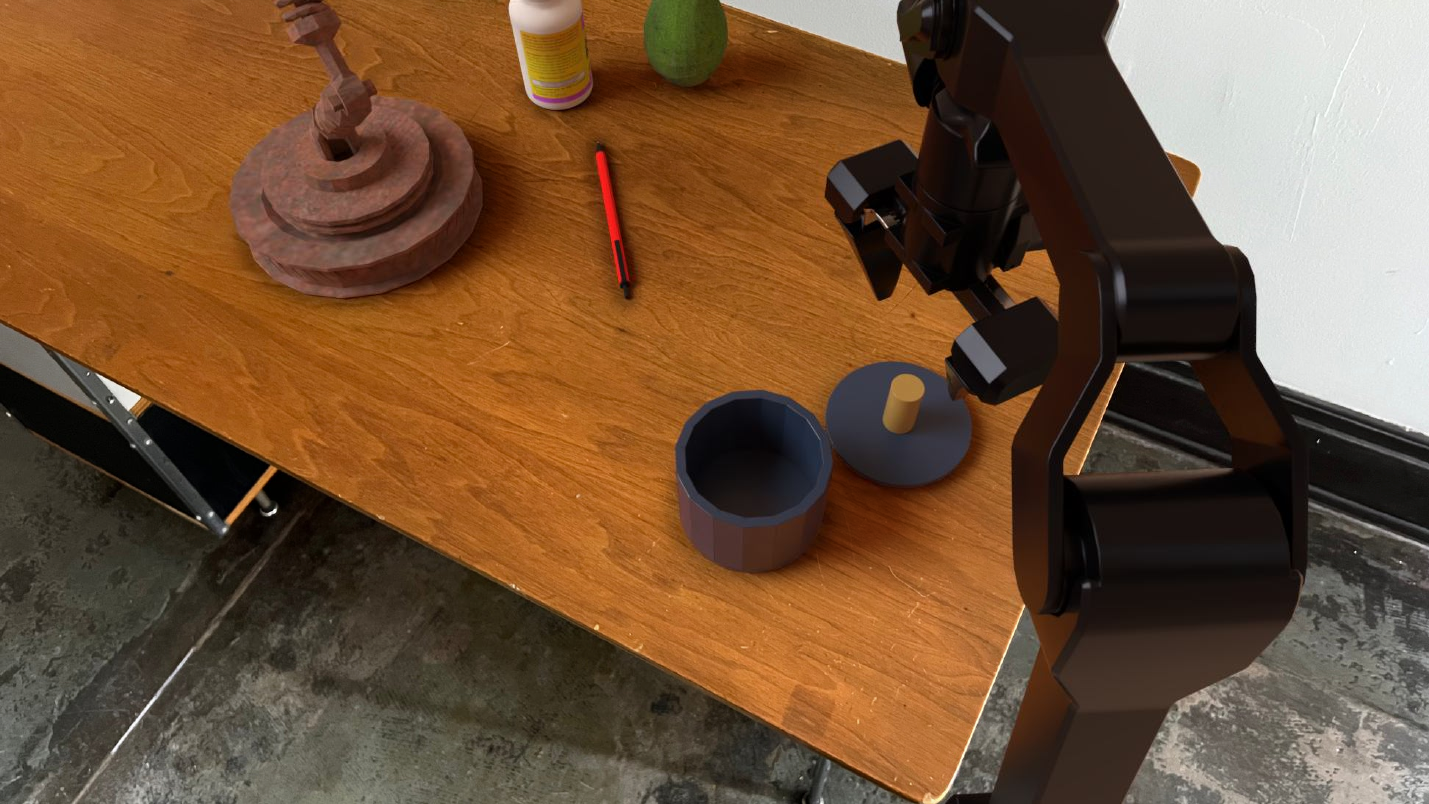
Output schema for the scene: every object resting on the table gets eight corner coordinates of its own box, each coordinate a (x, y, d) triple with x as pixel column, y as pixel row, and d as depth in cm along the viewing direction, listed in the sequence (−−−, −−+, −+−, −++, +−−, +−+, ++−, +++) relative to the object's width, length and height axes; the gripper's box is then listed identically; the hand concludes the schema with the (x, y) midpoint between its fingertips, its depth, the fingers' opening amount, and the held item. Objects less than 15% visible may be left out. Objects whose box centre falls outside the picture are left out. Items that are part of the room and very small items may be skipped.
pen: (622, 301, 81) (621, 293, 80) (593, 146, 91) (592, 137, 90) (632, 299, 81) (631, 291, 80) (603, 145, 91) (601, 136, 90)
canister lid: (997, 456, 72) (1016, 416, 68) (871, 515, 70) (882, 478, 65) (918, 349, 78) (930, 306, 73) (798, 400, 75) (803, 359, 70)
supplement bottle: (605, 98, 94) (589, -21, 84) (543, 122, 93) (519, 3, 82) (575, 60, 98) (557, -60, 87) (515, 82, 96) (488, -37, 85)
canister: (849, 535, 69) (861, 486, 63) (718, 596, 67) (718, 552, 60) (780, 424, 74) (785, 368, 68) (656, 477, 72) (650, 425, 65)
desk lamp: (387, 61, 98) (210, -443, 64) (548, 252, 84) (429, -266, 50) (184, 147, 91) (-131, -364, 58) (322, 370, 77) (10, -135, 44)
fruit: (701, 114, 93) (699, 4, 83) (632, 88, 95) (621, -23, 85) (741, 68, 97) (743, -43, 87) (673, 43, 99) (667, -68, 89)
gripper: (1207, 240, 49) (1104, 405, 62) (992, 32, 58) (943, 214, 71) (1026, 318, 46) (959, 473, 59) (831, 87, 55) (811, 266, 69)
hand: (919, 345), depth 65 cm, fingers open, 9 cm apart
